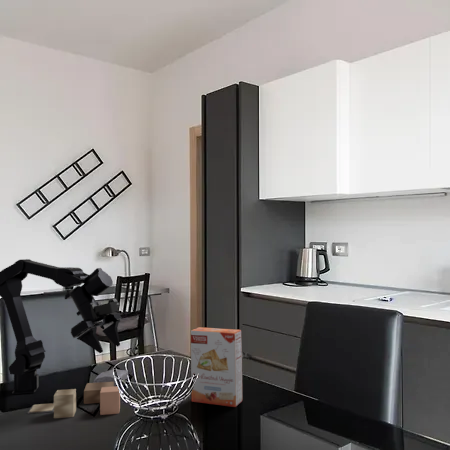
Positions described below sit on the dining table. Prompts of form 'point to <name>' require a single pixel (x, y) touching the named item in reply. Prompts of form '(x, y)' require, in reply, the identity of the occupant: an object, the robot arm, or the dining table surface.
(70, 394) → the oak block
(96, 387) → the walnut base block
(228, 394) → the cracker box
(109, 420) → the dining table surface
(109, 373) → the stone block
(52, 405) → the tile
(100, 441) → the dining table surface
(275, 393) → the dining table surface
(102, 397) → the terracotta block
